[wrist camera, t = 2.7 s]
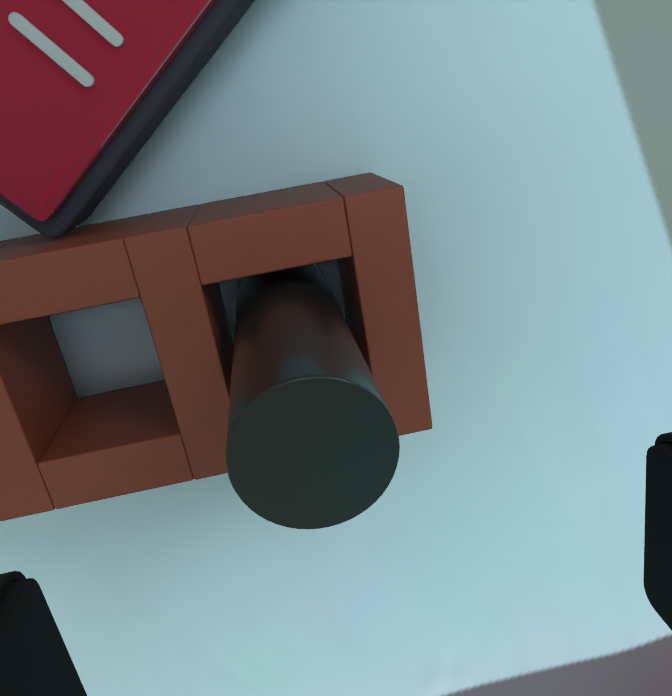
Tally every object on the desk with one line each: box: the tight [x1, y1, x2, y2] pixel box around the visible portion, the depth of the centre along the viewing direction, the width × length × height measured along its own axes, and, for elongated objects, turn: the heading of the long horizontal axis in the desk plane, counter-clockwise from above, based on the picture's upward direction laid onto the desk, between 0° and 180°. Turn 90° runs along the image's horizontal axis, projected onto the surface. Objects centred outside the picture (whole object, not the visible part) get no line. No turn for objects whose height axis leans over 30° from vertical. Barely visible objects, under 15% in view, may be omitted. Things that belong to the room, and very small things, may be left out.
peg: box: [226, 264, 400, 529], centre depth 18 cm, size 4×4×12 cm
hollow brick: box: [0, 173, 432, 521], centre depth 21 cm, size 15×8×5 cm, turn 100°
